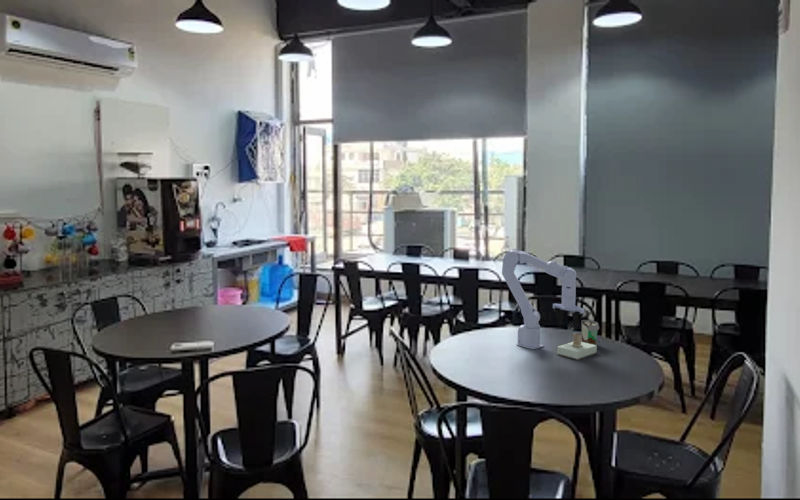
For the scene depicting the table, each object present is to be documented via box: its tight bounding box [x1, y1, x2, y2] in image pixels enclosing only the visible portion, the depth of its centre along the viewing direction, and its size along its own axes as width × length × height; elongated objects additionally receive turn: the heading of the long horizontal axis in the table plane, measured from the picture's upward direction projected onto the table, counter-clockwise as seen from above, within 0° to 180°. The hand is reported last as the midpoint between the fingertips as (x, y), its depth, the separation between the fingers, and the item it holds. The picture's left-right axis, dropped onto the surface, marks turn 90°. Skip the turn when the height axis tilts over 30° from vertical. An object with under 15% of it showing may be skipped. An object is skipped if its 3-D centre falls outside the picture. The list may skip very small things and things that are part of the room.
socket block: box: [556, 341, 598, 361], centre depth 268 cm, size 10×14×4 cm
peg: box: [572, 333, 582, 348], centre depth 268 cm, size 3×3×8 cm
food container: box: [580, 319, 600, 345], centre depth 282 cm, size 12×6×10 cm, turn 179°
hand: (567, 327), depth 274 cm, fingers open, 7 cm apart
